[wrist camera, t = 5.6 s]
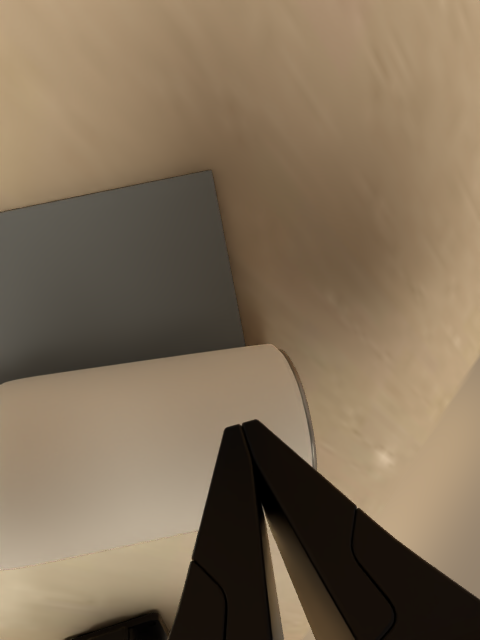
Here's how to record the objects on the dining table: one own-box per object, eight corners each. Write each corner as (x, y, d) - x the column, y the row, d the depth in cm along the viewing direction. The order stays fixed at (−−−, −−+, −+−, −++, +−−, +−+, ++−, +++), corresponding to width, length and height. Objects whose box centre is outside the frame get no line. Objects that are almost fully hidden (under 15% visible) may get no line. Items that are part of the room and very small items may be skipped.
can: (332, 439, 10) (-143, 528, 9) (309, 536, 14) (-21, 611, 12) (272, 310, 15) (-34, 349, 14) (267, 408, 19) (29, 448, 18)
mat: (254, 397, 19) (256, 401, 18) (-30, 474, 17) (-34, 481, 17) (210, 169, 14) (211, 170, 13) (-196, 251, 12) (-207, 254, 12)
